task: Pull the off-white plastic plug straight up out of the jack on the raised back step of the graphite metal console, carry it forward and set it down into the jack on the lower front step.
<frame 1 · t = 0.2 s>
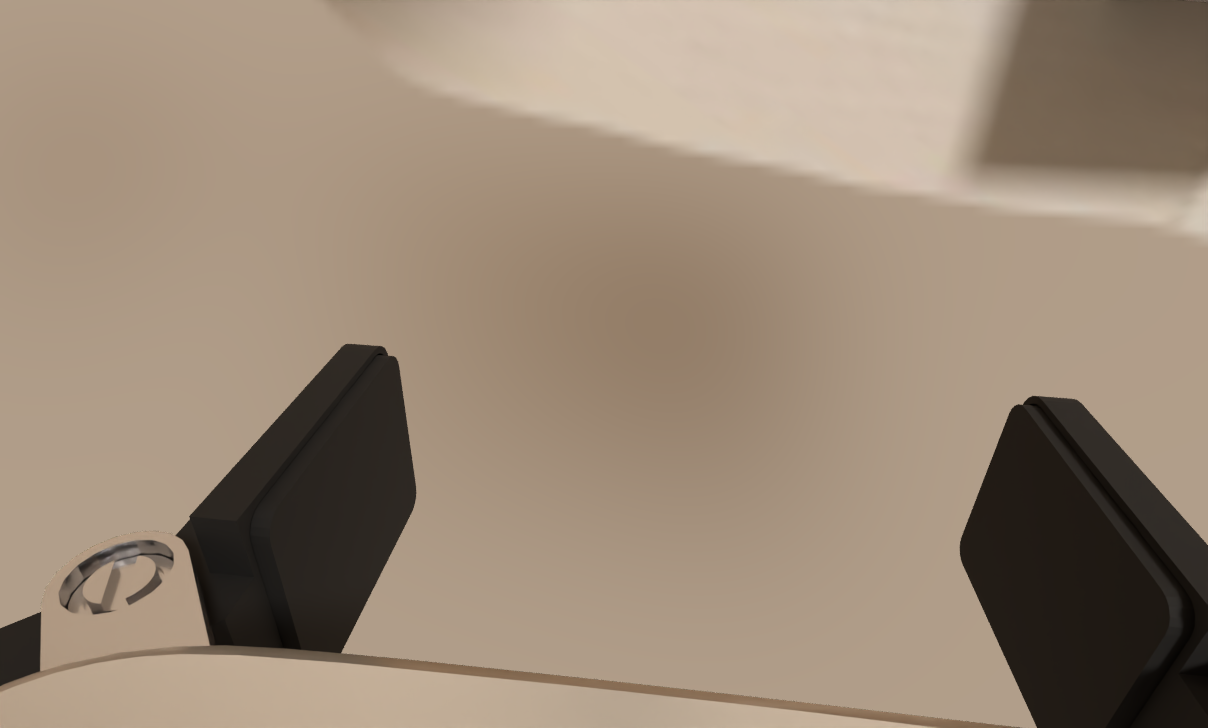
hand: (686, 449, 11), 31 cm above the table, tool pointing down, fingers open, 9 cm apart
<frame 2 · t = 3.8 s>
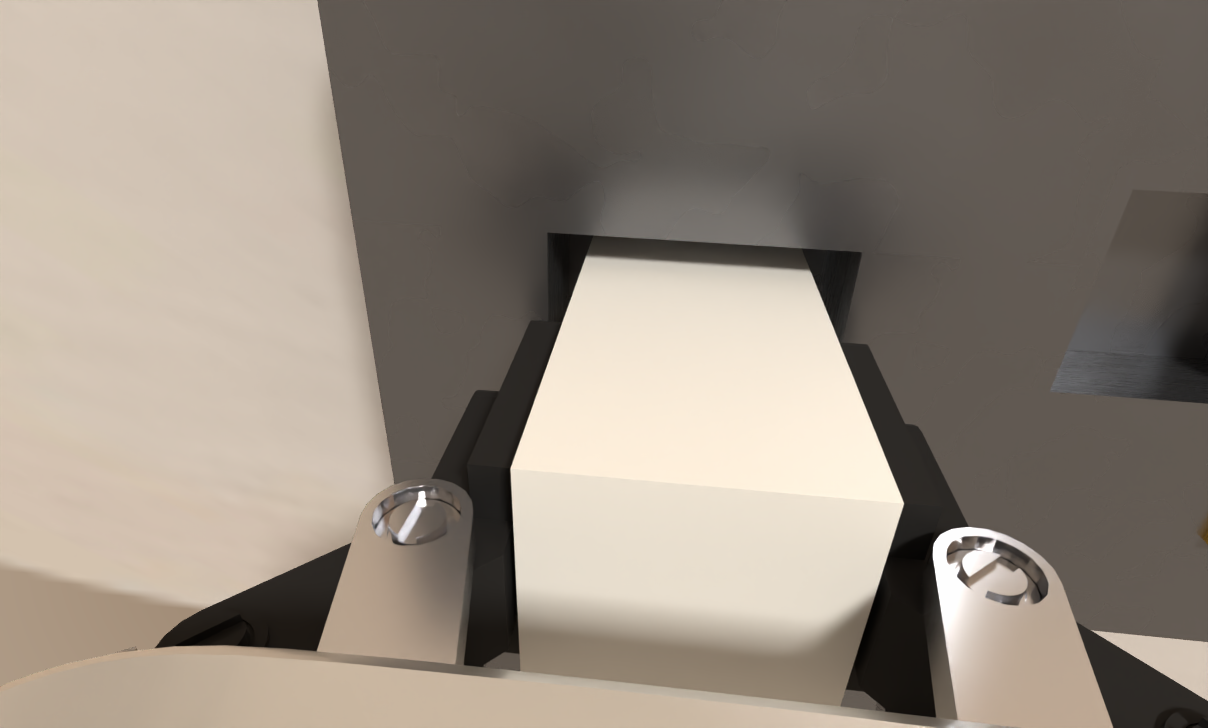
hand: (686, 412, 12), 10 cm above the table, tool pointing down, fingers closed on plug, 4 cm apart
console: (896, 233, 20), on the table
plug: (687, 319, 15), point 7 cm above the table, touching console, gripper
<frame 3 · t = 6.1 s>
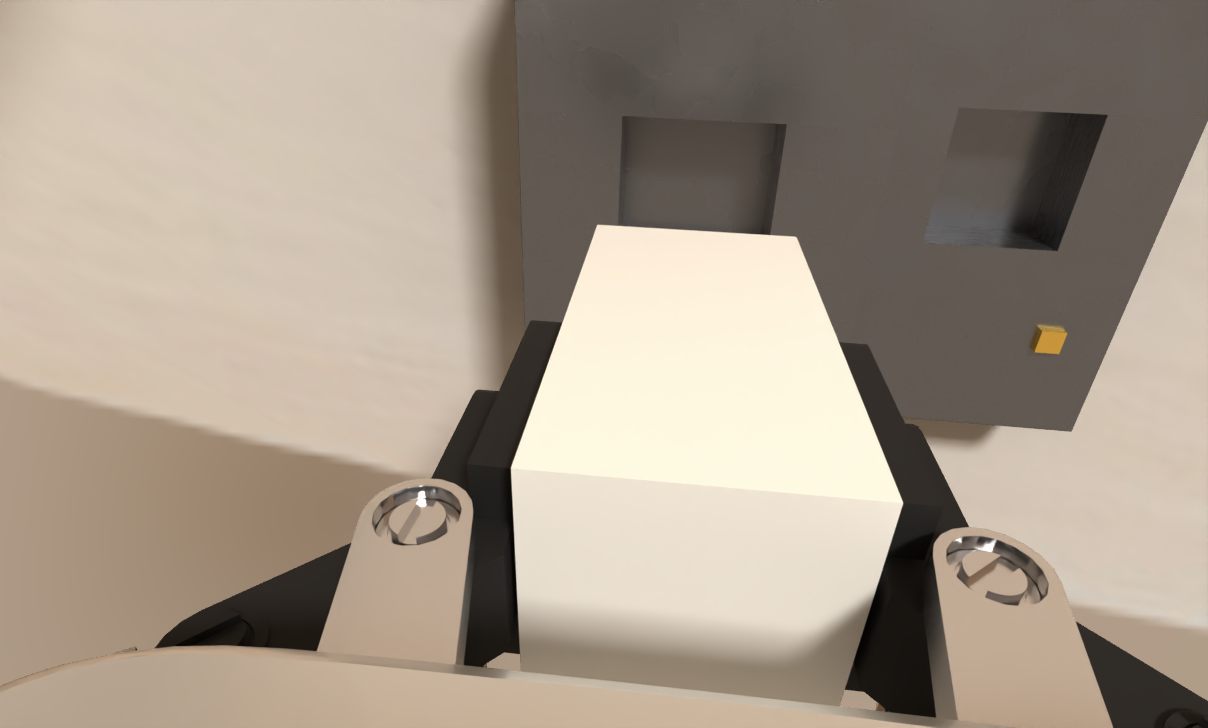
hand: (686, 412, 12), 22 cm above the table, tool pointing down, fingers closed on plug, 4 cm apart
console: (832, 150, 31), on the table
plug: (687, 319, 15), point 19 cm above the table, touching gripper
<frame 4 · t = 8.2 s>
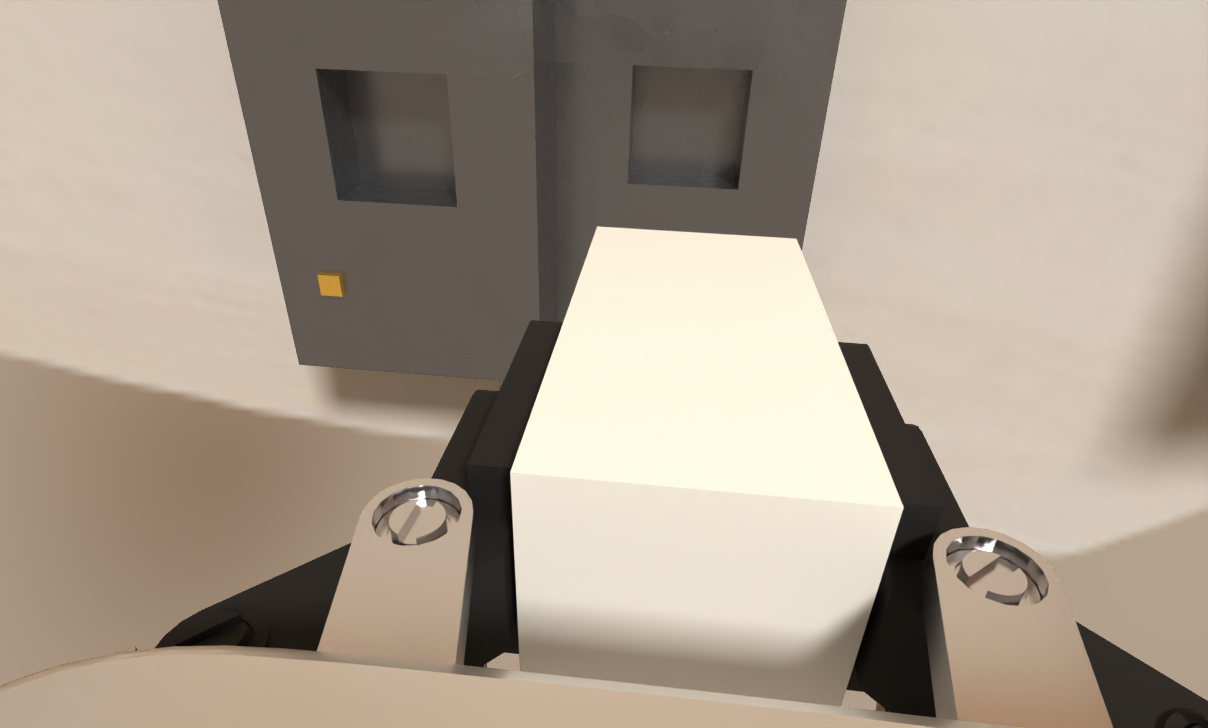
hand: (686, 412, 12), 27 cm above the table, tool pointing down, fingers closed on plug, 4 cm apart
console: (569, 107, 35), on the table
plug: (687, 321, 15), point 23 cm above the table, touching gripper
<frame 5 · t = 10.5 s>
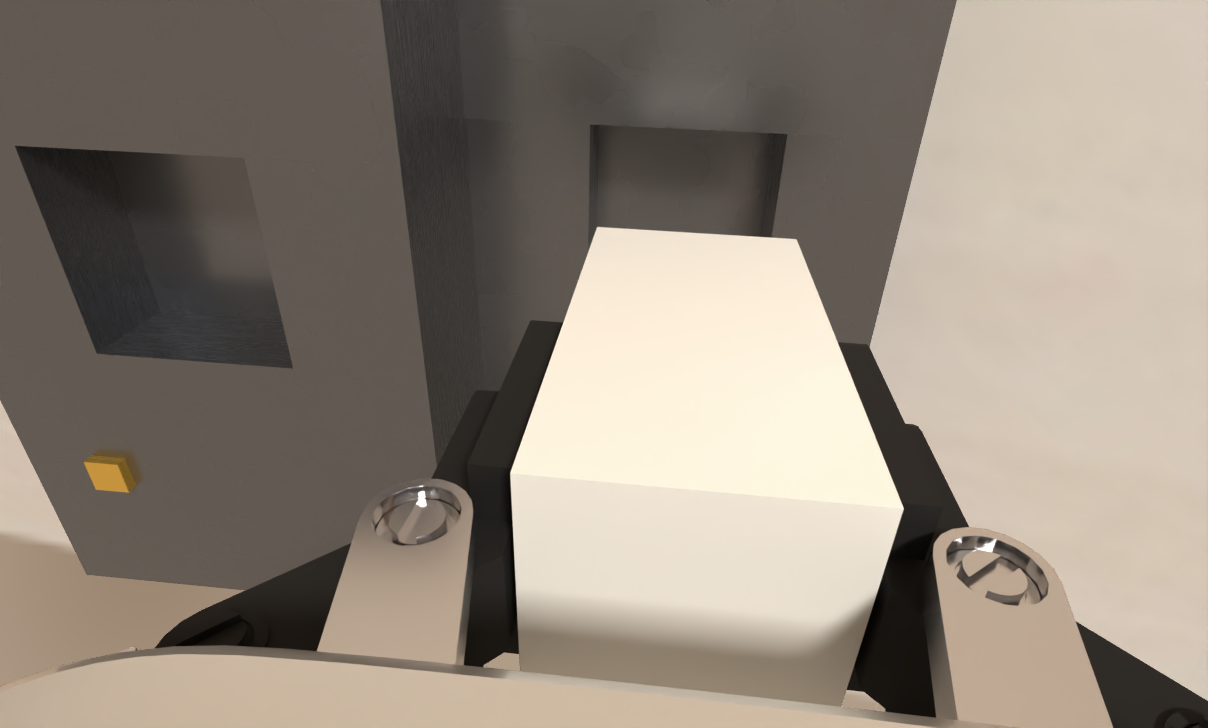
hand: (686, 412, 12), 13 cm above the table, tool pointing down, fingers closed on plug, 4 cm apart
console: (502, 174, 24), on the table
plug: (687, 322, 15), point 10 cm above the table, touching gripper
when the fingers open (6 cm above the table, at t = 12.4 s): plug stays where it is, resting on console.
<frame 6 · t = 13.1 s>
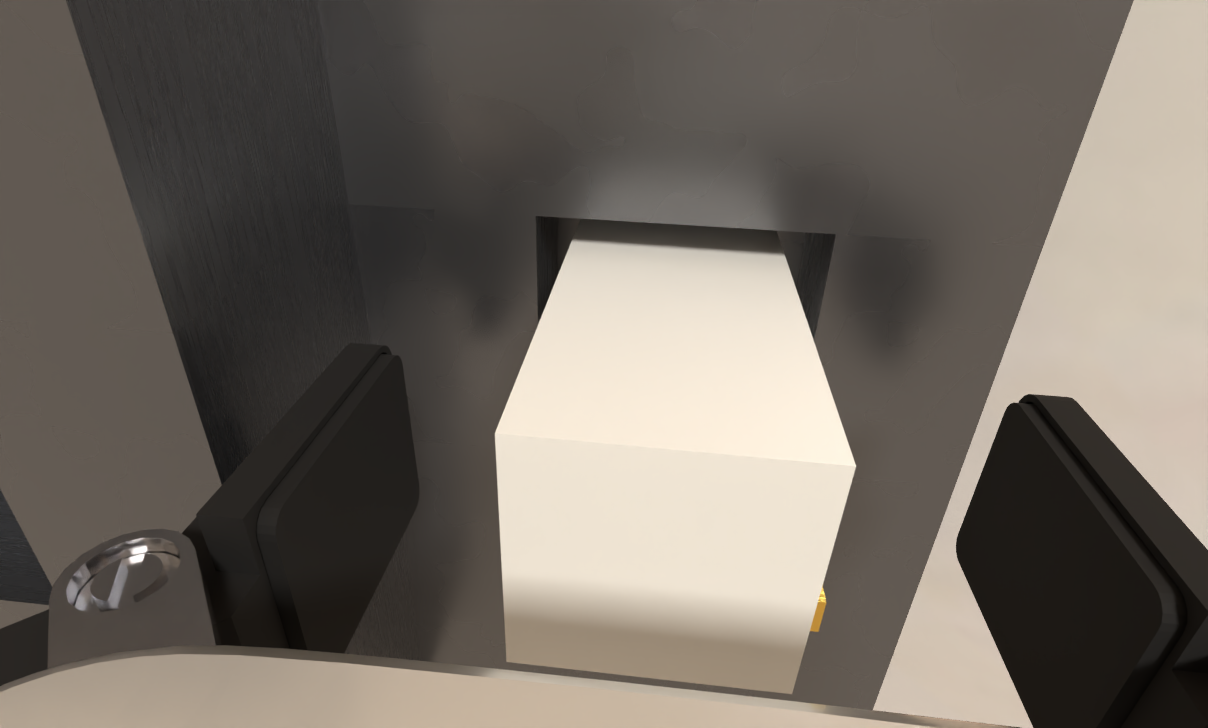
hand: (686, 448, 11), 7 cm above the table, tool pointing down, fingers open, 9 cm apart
console: (432, 257, 17), on the table
plug: (669, 304, 16), point 1 cm above the table, touching console
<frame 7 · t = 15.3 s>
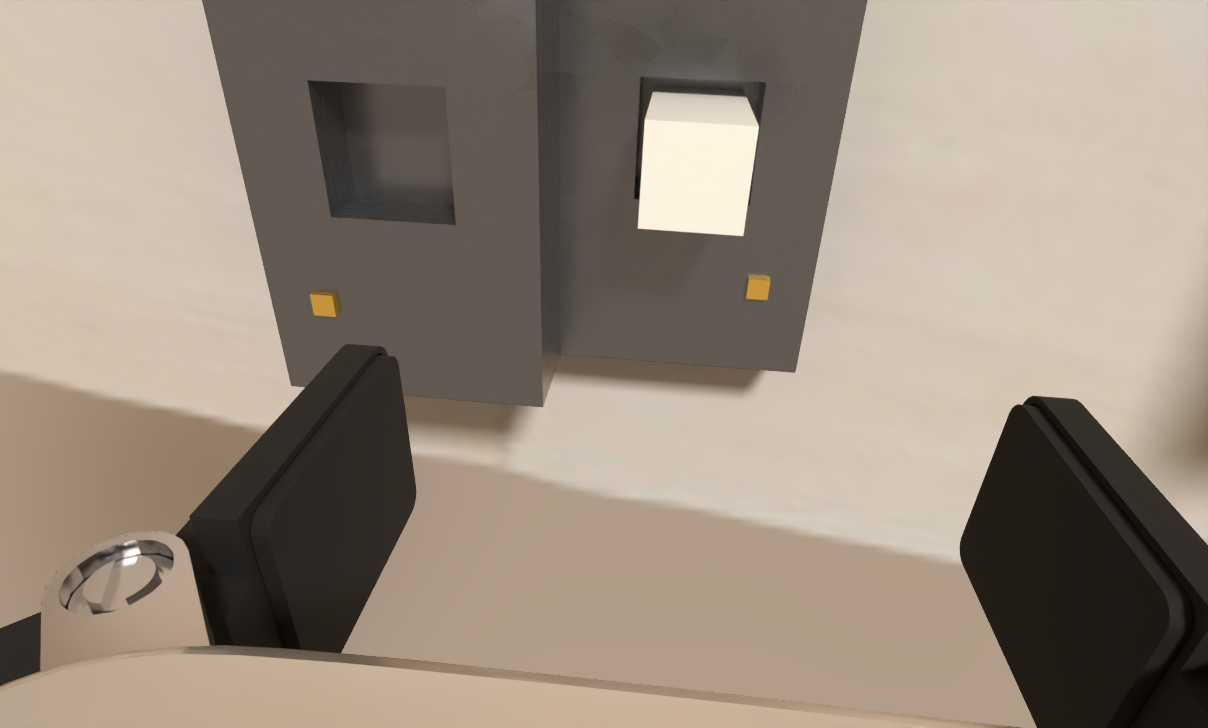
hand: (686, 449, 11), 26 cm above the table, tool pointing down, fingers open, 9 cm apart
console: (573, 118, 34), on the table
plug: (694, 133, 32), point 1 cm above the table, touching console
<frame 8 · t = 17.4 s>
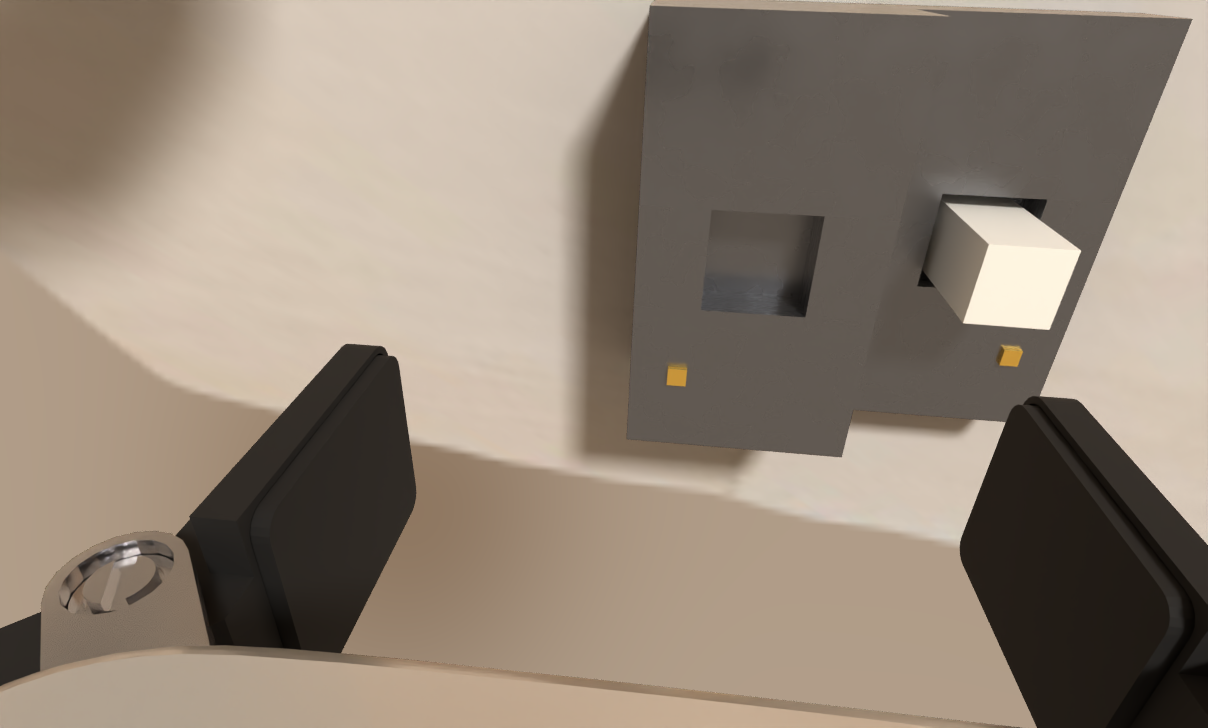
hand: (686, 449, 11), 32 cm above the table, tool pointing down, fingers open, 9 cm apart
console: (849, 214, 41), on the table
plug: (961, 231, 39), point 1 cm above the table, touching console
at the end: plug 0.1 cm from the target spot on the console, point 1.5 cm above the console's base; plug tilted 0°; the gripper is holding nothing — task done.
